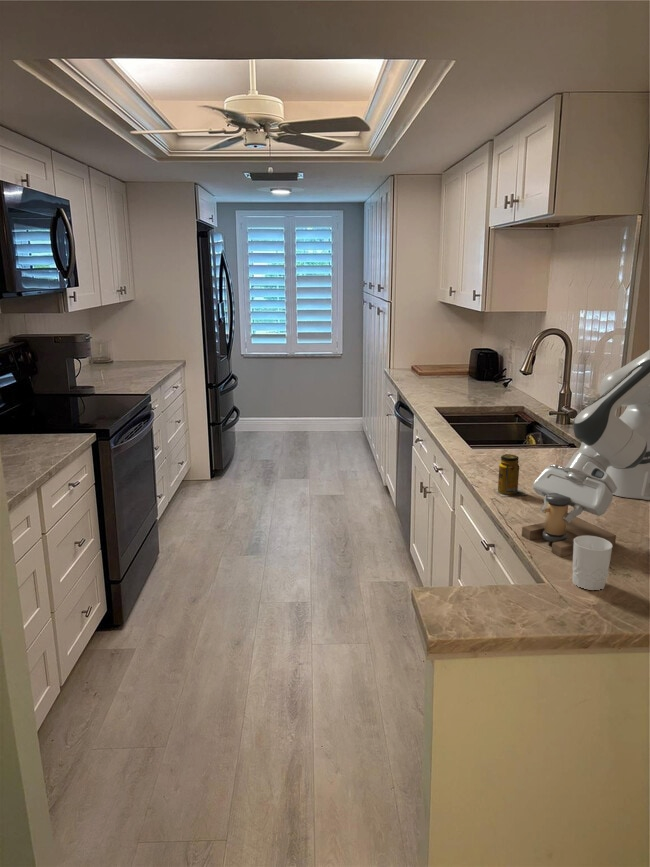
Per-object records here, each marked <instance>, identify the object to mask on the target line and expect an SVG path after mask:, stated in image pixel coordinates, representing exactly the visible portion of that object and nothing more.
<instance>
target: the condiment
mask: <svg viewBox="0 0 650 867" xmlns="http://www.w3.org/2000/svg"><path fill="white" fill-rule="evenodd" d="M498 466H499V467H498V480H497V488H493V490H494V491H495V492H496V494H498V495H499V496H501V497H517V496H528V494H527V493H526V492H525V491H523V490H522V489H521V488H520V487H519V477H520V464H519V456H517V455H516V454H512V453H511V454H508V453H506V454H502V455H501V456H500V463H499V465H498Z"/></svg>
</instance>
